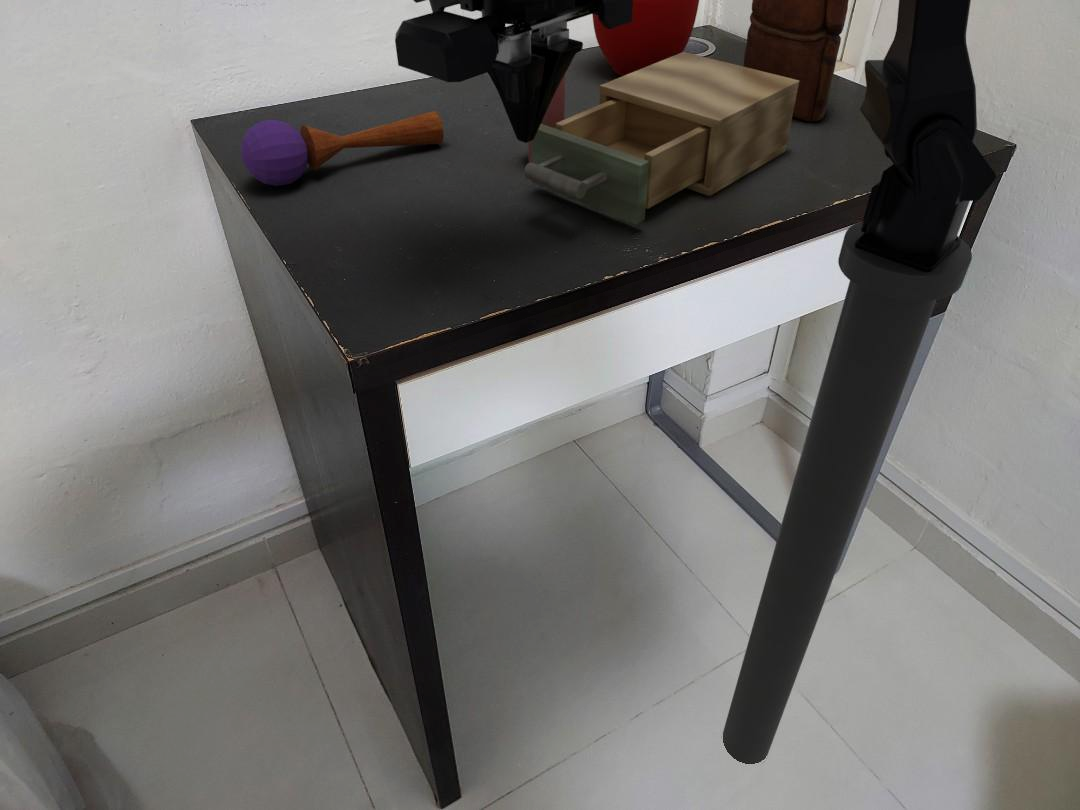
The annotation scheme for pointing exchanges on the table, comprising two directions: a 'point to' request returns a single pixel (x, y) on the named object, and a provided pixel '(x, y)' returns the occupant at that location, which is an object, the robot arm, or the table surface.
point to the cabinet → (717, 110)
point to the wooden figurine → (798, 47)
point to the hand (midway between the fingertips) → (525, 140)
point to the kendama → (324, 145)
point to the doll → (554, 111)
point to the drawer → (619, 157)
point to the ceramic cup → (647, 34)
